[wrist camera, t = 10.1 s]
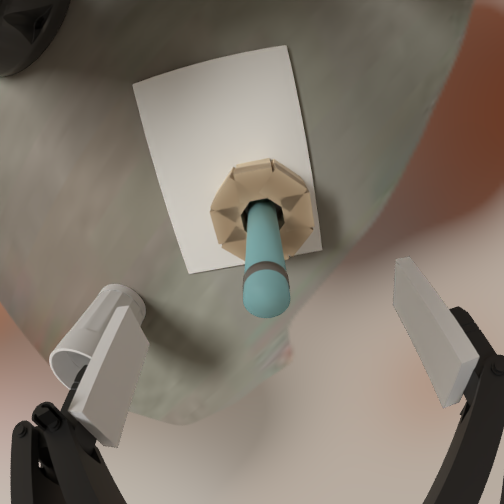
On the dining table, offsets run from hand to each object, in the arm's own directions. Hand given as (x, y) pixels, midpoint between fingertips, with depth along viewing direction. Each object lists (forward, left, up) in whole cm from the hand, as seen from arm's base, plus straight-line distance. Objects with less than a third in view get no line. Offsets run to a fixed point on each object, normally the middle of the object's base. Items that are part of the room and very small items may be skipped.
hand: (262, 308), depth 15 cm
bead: (0, 0, -16) cm, 16 cm away
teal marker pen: (0, 0, -16) cm, 16 cm away
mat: (-4, -2, -17) cm, 17 cm away
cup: (+9, -19, -17) cm, 27 cm away
